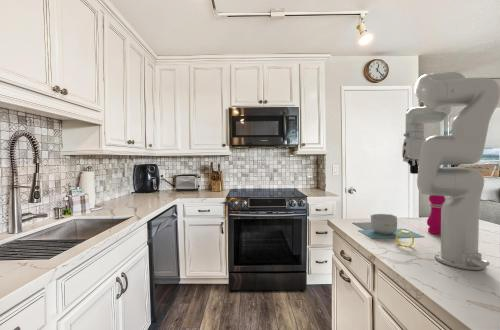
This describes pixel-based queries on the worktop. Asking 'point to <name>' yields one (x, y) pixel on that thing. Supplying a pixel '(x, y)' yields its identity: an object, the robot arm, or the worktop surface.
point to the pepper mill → (435, 214)
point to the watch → (405, 233)
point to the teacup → (384, 223)
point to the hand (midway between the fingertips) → (414, 173)
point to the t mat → (374, 235)
